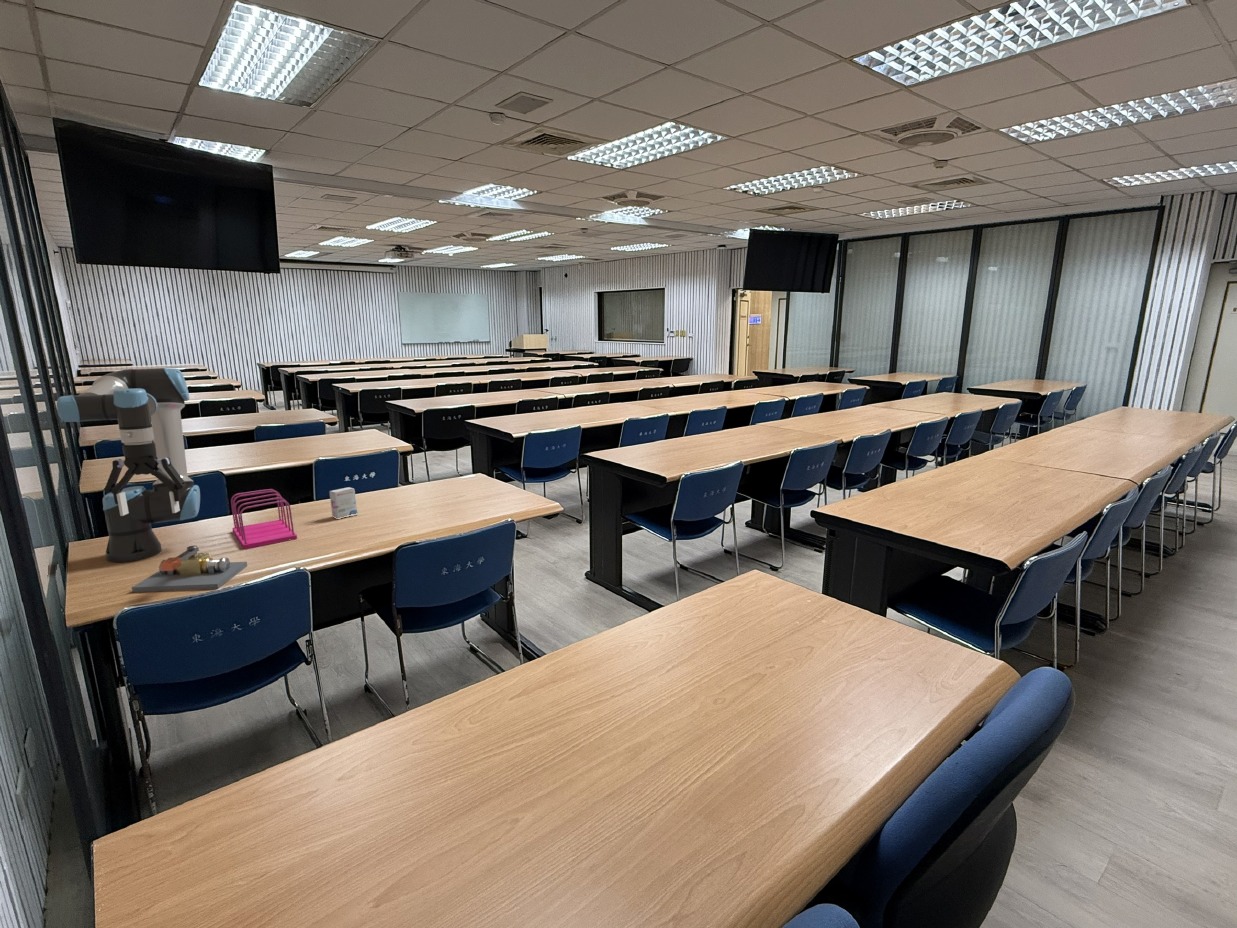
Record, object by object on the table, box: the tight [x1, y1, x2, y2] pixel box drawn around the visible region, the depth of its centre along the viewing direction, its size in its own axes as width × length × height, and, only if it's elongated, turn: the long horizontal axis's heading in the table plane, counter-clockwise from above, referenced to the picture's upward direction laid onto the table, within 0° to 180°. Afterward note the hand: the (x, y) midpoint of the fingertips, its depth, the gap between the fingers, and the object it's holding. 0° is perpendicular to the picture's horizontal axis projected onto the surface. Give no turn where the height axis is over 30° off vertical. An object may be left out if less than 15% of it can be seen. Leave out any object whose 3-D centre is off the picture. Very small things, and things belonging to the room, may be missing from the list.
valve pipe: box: [158, 552, 231, 576], centre depth 191 cm, size 18×6×6 cm, turn 96°
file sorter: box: [230, 488, 298, 550], centre depth 228 cm, size 17×25×16 cm
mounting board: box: [131, 561, 248, 593], centre depth 189 cm, size 24×18×2 cm
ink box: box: [328, 486, 358, 518], centre depth 251 cm, size 9×5×12 cm, turn 141°
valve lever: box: [160, 545, 200, 571], centre depth 184 cm, size 15×3×3 cm, turn 6°
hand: (150, 513), depth 178 cm, fingers open, 13 cm apart
